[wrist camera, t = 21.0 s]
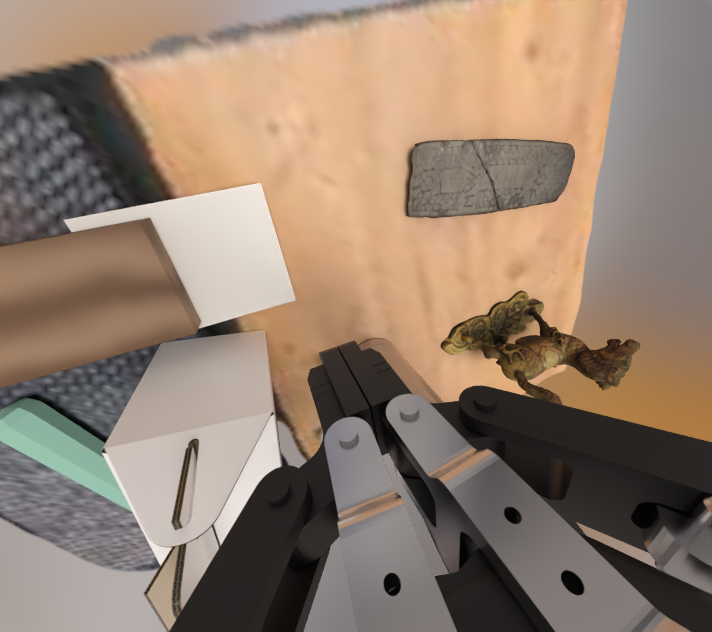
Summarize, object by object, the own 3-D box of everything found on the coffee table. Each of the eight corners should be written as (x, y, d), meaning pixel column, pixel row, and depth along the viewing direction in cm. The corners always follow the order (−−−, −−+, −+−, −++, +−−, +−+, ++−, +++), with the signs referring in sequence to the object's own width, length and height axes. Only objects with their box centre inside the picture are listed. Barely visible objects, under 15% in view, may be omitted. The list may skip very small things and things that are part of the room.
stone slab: (563, 208, 48) (414, 222, 38) (545, 207, 50) (402, 220, 41) (581, 138, 43) (418, 135, 34) (561, 141, 46) (404, 139, 37)
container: (-43, 442, 28) (144, 536, 40) (26, 400, 30) (182, 500, 43) (-20, 416, 32) (142, 507, 45) (38, 381, 35) (177, 477, 47)
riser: (291, 290, 39) (295, 300, 36) (154, 328, 35) (144, 344, 32) (259, 183, 33) (260, 182, 29) (85, 215, 29) (63, 220, 25)
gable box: (159, 340, 36) (-13, 641, 12) (264, 327, 40) (288, 533, 16) (196, 457, 45) (139, 756, 22) (278, 436, 50) (306, 669, 26)
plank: (201, 321, 33) (196, 333, 30) (-1, 376, 29) (-26, 395, 26) (149, 217, 27) (138, 220, 25) (-111, 266, 23) (-158, 277, 20)
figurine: (534, 334, 63) (643, 391, 45) (440, 370, 57) (524, 450, 40) (544, 282, 57) (674, 325, 39) (440, 316, 51) (539, 383, 34)
